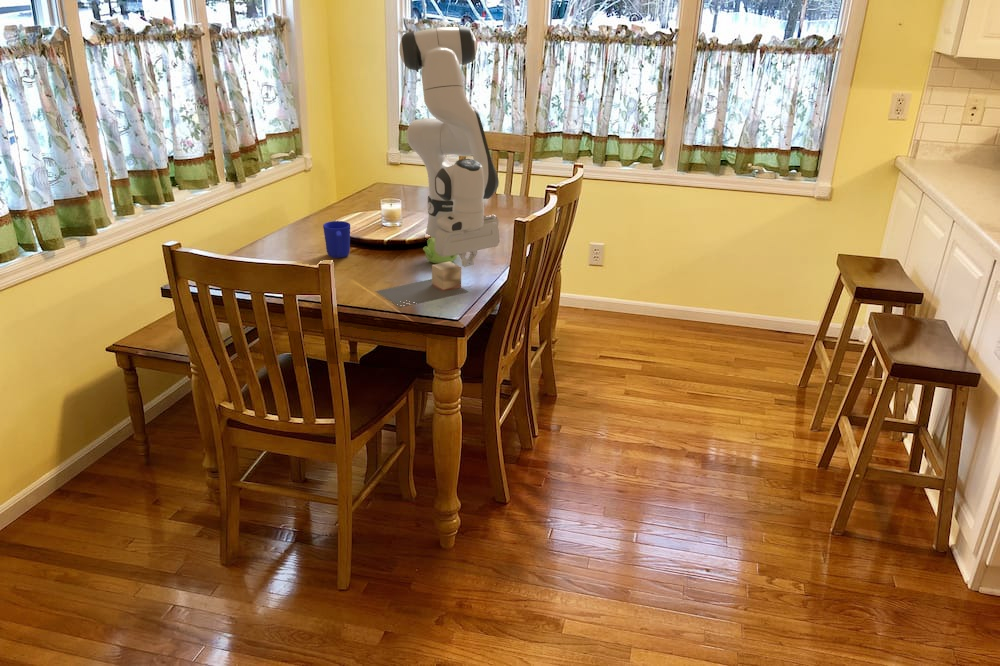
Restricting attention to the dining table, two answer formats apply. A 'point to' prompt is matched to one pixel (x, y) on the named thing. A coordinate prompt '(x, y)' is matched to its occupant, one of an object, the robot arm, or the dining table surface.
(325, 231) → the mug
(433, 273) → the cube
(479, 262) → the dining table surface
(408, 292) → the mat
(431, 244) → the teapot
